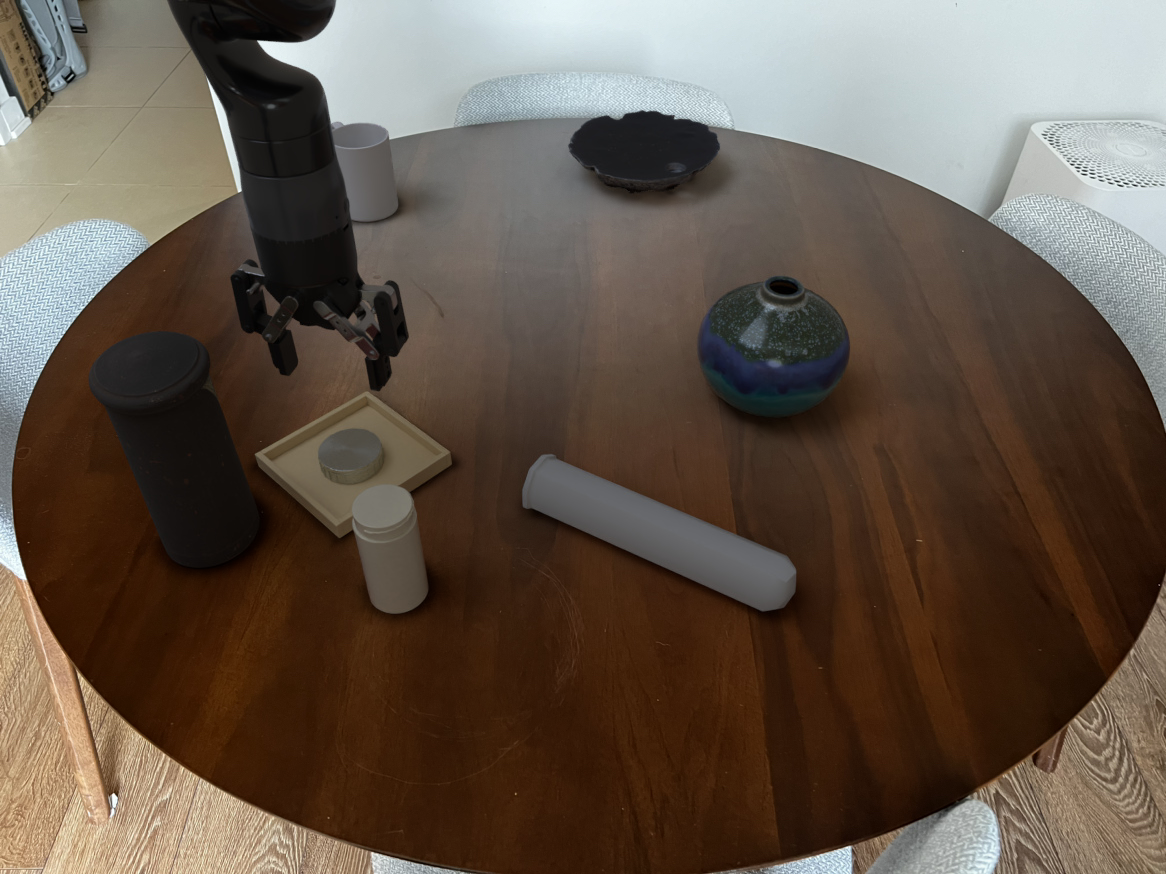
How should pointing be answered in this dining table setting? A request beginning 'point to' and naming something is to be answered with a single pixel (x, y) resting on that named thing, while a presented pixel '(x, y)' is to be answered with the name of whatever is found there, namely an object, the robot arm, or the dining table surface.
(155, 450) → the container
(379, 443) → the lid
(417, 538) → the jar
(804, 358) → the vase
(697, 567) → the tube
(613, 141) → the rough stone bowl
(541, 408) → the dining table surface
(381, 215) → the mug
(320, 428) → the tray
